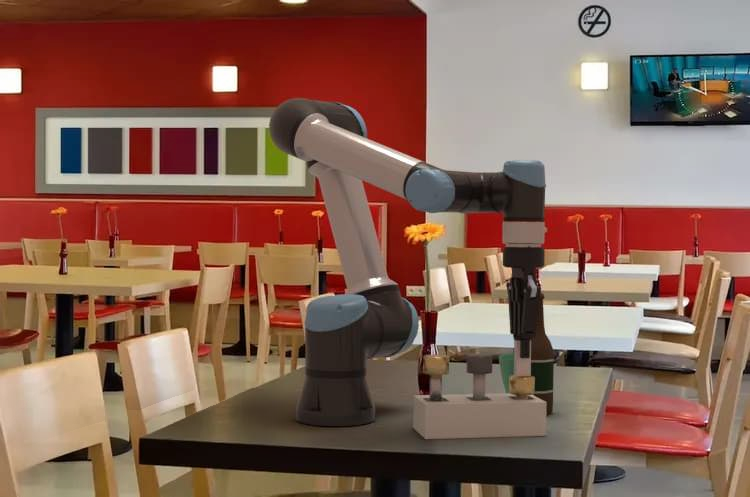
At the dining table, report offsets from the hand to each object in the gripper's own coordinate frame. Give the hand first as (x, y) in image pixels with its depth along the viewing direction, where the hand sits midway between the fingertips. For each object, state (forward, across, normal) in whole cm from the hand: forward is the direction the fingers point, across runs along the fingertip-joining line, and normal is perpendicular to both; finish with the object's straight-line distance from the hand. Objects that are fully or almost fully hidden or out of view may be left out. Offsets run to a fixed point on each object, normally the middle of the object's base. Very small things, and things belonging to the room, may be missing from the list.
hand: (522, 375), depth 196 cm
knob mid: (+4, 0, +8) cm, 9 cm away
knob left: (+4, 0, +16) cm, 17 cm away
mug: (+10, +28, -10) cm, 32 cm away
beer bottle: (+10, +17, -8) cm, 21 cm away
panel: (+10, 0, +8) cm, 13 cm away
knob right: (+8, 0, 0) cm, 8 cm away
